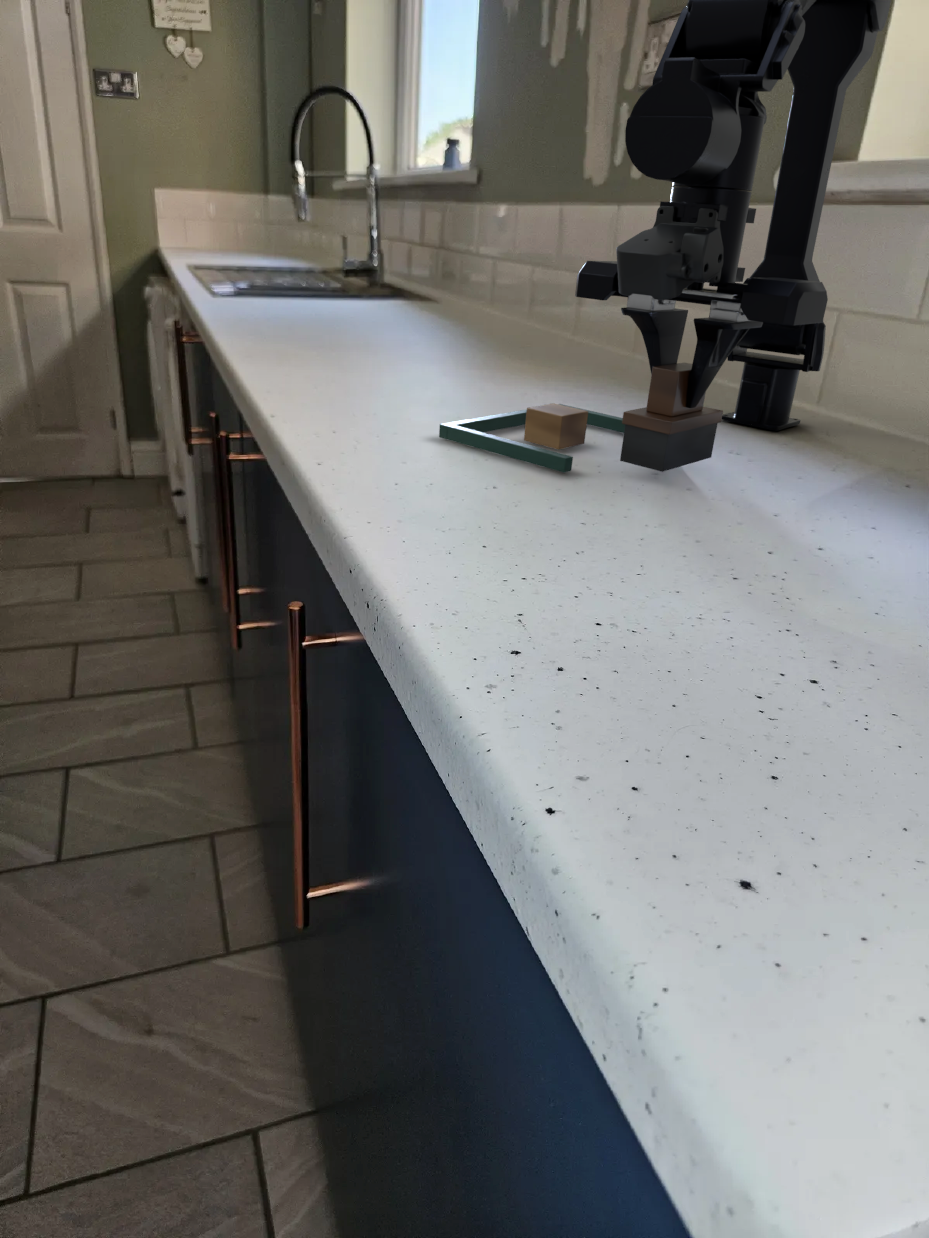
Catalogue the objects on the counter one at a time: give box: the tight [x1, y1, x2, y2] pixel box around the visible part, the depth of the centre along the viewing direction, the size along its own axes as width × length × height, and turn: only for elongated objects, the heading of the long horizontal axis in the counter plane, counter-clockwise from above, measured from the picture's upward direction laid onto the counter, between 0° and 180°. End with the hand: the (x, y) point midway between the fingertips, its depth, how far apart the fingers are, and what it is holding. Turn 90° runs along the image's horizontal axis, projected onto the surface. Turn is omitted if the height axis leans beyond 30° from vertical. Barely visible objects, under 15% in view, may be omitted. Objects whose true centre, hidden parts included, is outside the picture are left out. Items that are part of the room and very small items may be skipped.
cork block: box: [523, 402, 588, 451], centre depth 79 cm, size 4×4×3 cm
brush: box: [619, 362, 724, 473], centre depth 71 cm, size 8×4×8 cm, turn 137°
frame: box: [438, 403, 625, 474], centre depth 80 cm, size 18×14×1 cm
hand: (675, 404), depth 70 cm, fingers closed on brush, 2 cm apart
